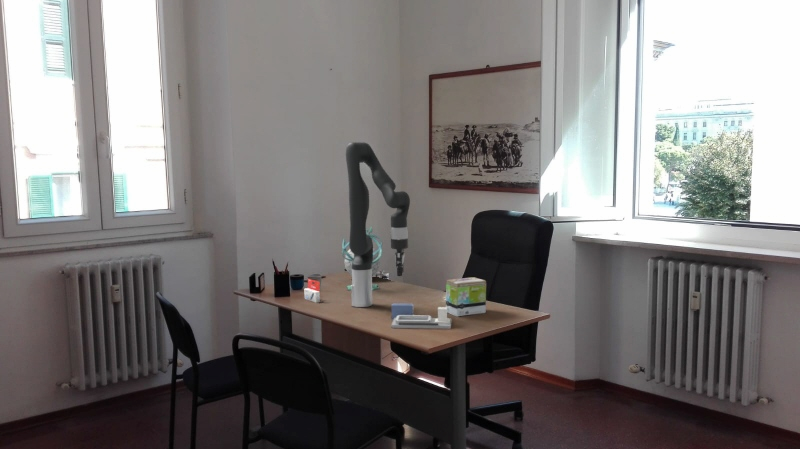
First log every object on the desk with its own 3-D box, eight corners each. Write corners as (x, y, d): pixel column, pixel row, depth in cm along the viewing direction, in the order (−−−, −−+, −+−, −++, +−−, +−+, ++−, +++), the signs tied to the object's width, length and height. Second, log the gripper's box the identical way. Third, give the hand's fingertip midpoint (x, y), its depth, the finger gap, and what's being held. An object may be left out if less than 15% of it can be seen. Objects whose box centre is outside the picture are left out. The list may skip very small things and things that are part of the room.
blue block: (391, 319, 280) (391, 305, 279) (392, 316, 284) (392, 303, 283) (412, 319, 279) (412, 305, 278) (413, 317, 283) (413, 303, 282)
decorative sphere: (386, 279, 366) (386, 244, 364) (355, 283, 355) (354, 247, 353) (368, 274, 383) (368, 240, 380) (338, 278, 372) (337, 243, 370)
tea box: (457, 317, 281) (457, 283, 279) (445, 312, 290) (445, 279, 288) (486, 313, 288) (486, 279, 286) (473, 308, 297) (473, 276, 295)
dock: (391, 327, 265) (391, 310, 265) (394, 320, 277) (394, 304, 276) (450, 328, 263) (450, 311, 262) (451, 321, 275) (451, 304, 274)
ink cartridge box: (316, 302, 312) (315, 282, 311) (304, 299, 321) (303, 279, 320) (320, 302, 314) (320, 281, 313) (308, 298, 322) (308, 278, 321)
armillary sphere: (359, 280, 363) (360, 218, 357) (392, 290, 345) (394, 224, 339) (329, 287, 347) (329, 222, 342) (362, 297, 330) (363, 228, 324)
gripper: (392, 235, 293) (393, 271, 294) (389, 239, 279) (390, 277, 280) (408, 235, 292) (409, 271, 294) (407, 239, 278) (408, 277, 280)
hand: (400, 274), depth 287 cm, fingers open, 8 cm apart
